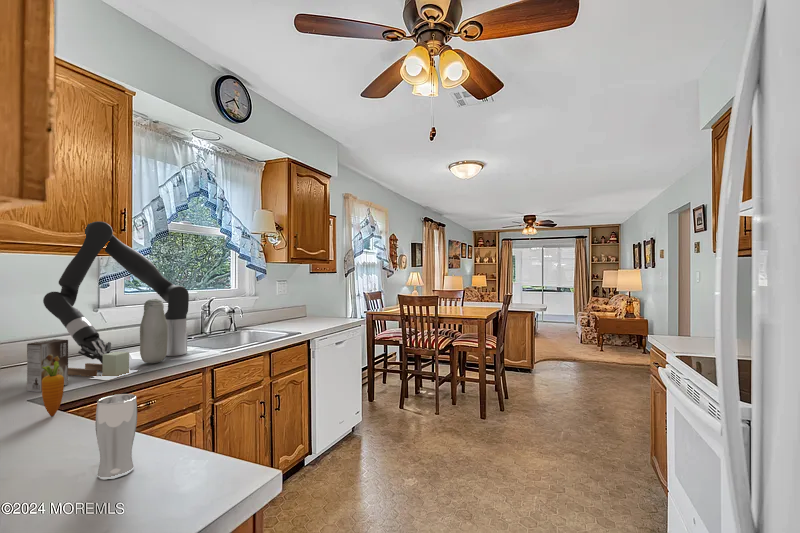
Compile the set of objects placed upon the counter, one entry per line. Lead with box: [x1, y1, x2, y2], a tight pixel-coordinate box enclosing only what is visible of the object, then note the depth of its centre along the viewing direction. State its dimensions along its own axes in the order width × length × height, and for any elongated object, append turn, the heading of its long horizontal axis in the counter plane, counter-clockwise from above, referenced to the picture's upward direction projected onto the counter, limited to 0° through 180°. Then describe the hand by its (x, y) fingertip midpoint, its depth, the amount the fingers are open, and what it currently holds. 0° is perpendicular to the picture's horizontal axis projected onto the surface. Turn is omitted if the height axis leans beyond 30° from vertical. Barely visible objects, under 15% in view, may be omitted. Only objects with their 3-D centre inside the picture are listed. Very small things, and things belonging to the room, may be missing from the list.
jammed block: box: [101, 351, 130, 376], centre depth 158 cm, size 6×6×8 cm
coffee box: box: [26, 338, 69, 393], centre depth 140 cm, size 9×6×16 cm
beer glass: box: [94, 393, 138, 477], centre depth 82 cm, size 7×7×15 cm
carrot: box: [41, 361, 65, 417], centre depth 113 cm, size 5×5×15 cm
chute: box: [68, 362, 103, 377], centre depth 160 cm, size 9×13×2 cm
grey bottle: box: [139, 298, 168, 364], centre depth 178 cm, size 10×10×28 cm
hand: (108, 364), depth 159 cm, fingers closed
